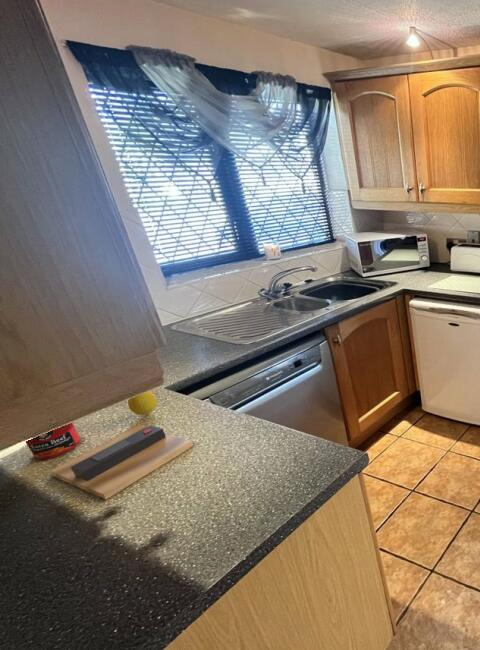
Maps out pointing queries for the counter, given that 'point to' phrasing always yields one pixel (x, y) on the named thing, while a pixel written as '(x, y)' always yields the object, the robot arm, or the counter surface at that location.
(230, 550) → the counter surface
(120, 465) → the board
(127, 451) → the remote
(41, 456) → the canned food
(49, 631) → the counter surface
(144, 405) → the lemon
